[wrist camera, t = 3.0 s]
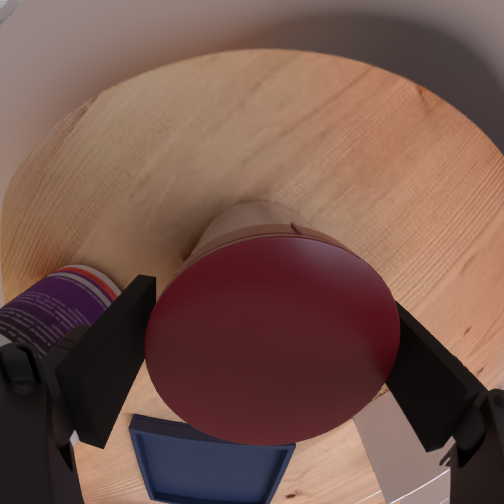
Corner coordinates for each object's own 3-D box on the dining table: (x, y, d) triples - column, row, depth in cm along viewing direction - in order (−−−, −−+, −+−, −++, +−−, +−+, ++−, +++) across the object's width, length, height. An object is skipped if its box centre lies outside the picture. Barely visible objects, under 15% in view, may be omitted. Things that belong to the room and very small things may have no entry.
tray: (133, 413, 23) (128, 428, 21) (293, 430, 24) (296, 446, 22) (152, 488, 27) (150, 499, 25) (265, 500, 28) (266, 511, 26)
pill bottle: (44, 256, 19) (-92, 343, 5) (133, 264, 19) (-3, 408, 5) (61, 344, 21) (-27, 456, 7) (142, 360, 21) (77, 514, 7)
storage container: (460, 442, 28) (489, 487, 18) (401, 480, 29) (422, 530, 19) (445, 349, 22) (509, 419, 12) (350, 413, 23) (386, 504, 13)
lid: (161, 207, 9) (142, 216, 7) (402, 238, 9) (431, 252, 8) (162, 402, 11) (153, 433, 9) (344, 413, 12) (355, 441, 10)
